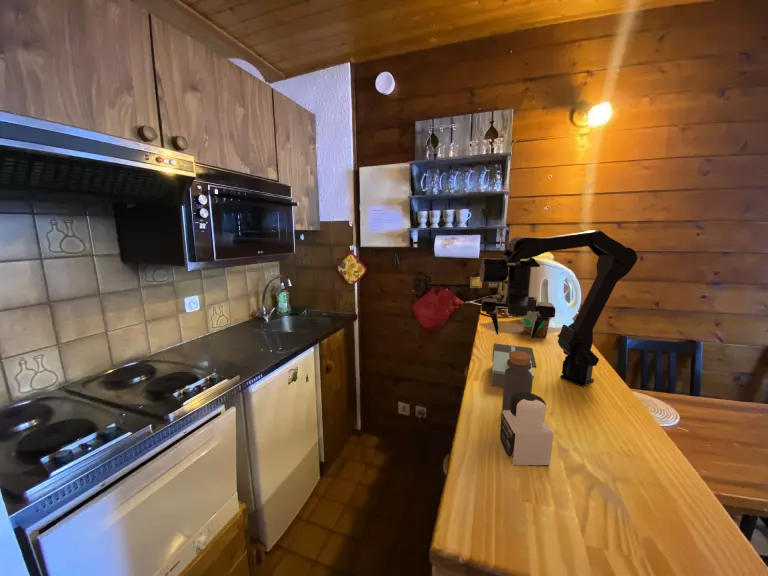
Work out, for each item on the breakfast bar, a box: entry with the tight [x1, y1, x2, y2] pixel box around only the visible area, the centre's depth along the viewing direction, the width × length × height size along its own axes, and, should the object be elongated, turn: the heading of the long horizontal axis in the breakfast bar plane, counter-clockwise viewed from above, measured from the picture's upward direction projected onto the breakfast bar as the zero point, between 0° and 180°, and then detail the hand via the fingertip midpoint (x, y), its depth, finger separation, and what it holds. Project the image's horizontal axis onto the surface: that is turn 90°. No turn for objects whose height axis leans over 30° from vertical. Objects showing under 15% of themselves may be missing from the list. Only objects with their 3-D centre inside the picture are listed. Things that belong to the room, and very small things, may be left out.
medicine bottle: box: [499, 392, 554, 466], centre depth 61 cm, size 7×7×12 cm
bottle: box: [501, 351, 533, 412], centre depth 73 cm, size 6×6×15 cm
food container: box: [522, 311, 552, 339], centre depth 127 cm, size 12×6×10 cm, turn 25°
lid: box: [492, 345, 535, 380], centre depth 91 cm, size 14×10×6 cm
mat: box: [492, 343, 537, 368], centre depth 108 cm, size 16×13×1 cm
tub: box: [491, 373, 534, 393], centre depth 92 cm, size 14×10×4 cm
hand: (514, 336), depth 90 cm, fingers open, 9 cm apart
